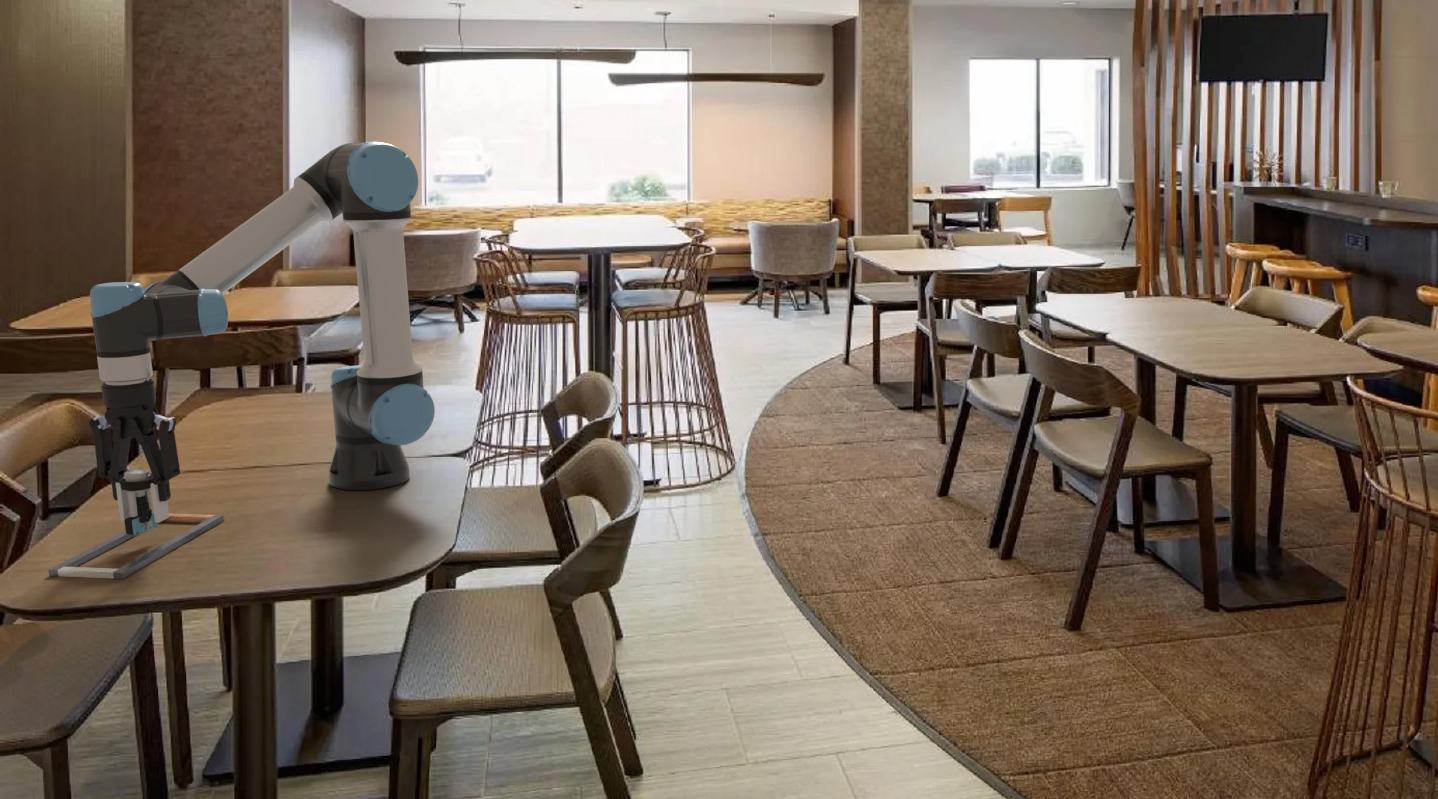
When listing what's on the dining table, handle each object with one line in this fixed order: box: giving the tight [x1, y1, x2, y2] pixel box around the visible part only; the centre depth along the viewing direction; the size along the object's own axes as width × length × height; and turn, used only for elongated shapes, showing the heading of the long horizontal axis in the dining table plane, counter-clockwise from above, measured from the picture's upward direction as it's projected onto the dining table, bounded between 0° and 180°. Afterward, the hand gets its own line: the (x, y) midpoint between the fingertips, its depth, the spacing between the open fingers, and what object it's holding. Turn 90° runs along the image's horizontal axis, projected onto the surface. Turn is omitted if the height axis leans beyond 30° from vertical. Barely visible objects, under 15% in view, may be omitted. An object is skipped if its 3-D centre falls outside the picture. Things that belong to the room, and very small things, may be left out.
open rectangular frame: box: [47, 512, 225, 580], centre depth 182 cm, size 12×28×1 cm, turn 174°
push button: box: [119, 468, 160, 536], centre depth 182 cm, size 7×5×10 cm
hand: (145, 519), depth 183 cm, fingers closed on push button, 5 cm apart
